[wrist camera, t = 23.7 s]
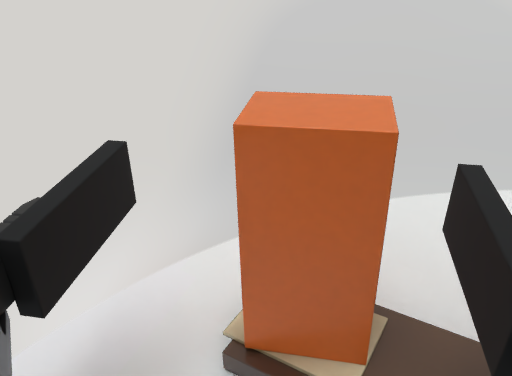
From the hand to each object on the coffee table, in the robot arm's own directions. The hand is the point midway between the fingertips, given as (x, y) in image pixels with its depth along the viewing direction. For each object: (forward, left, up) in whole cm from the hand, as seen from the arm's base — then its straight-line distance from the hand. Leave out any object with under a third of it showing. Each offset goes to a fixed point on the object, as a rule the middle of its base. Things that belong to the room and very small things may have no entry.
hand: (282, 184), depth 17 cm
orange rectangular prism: (+1, 0, -7) cm, 7 cm away
